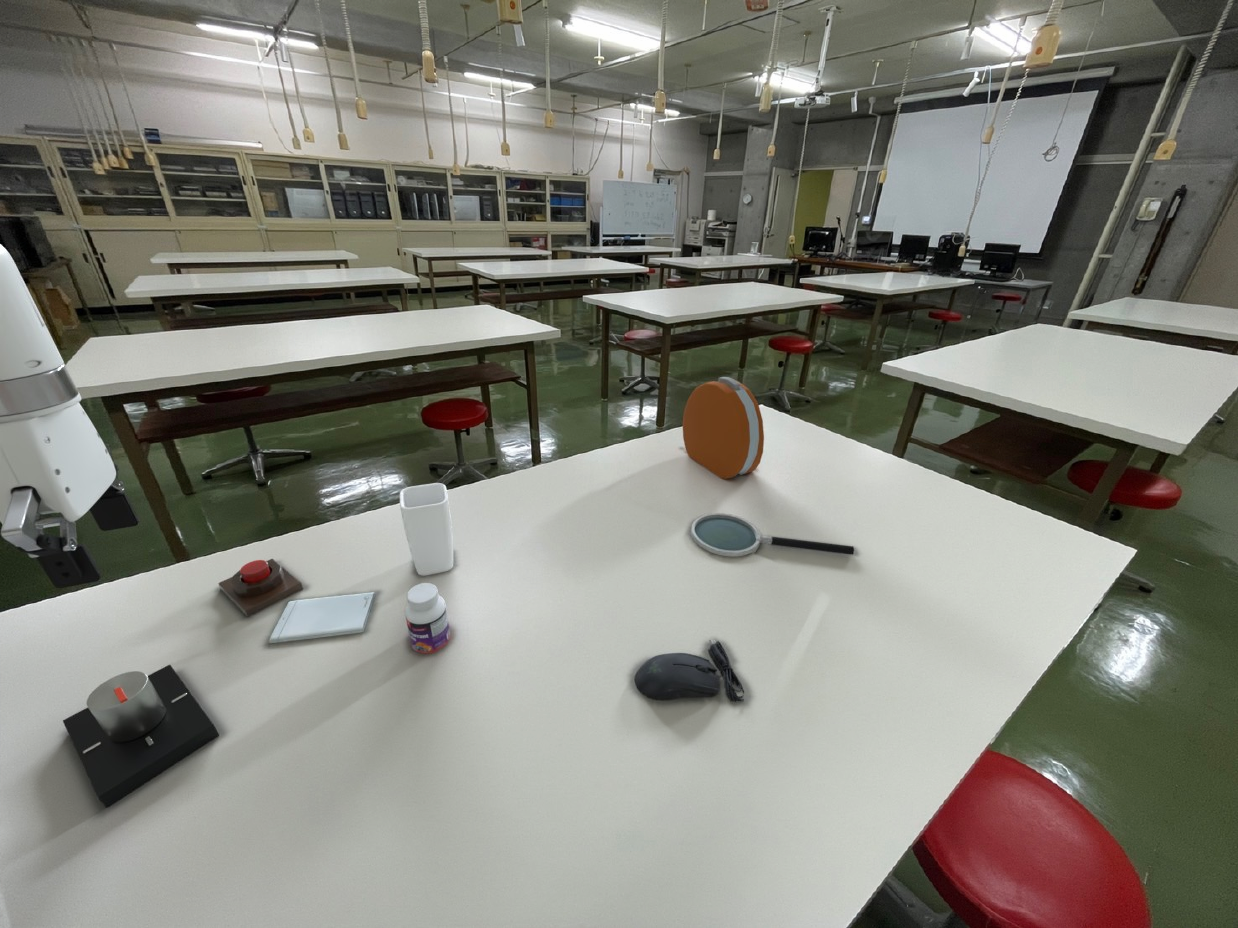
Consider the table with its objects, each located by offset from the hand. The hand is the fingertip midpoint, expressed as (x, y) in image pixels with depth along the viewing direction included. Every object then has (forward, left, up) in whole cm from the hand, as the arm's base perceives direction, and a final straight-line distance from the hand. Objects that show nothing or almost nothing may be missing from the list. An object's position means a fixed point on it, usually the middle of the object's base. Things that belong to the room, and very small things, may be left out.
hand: (102, 552), depth 51 cm
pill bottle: (+14, +25, -25) cm, 38 cm away
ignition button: (-16, +15, -21) cm, 30 cm away
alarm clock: (+22, +106, -25) cm, 111 cm away
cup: (0, +36, -25) cm, 44 cm away
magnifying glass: (+45, +80, -25) cm, 95 cm away
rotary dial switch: (0, -4, -25) cm, 25 cm away
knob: (0, -4, -22) cm, 22 cm away
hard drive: (-2, +18, -25) cm, 31 cm away
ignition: (-16, +15, -25) cm, 33 cm away
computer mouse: (+47, +42, -25) cm, 68 cm away
